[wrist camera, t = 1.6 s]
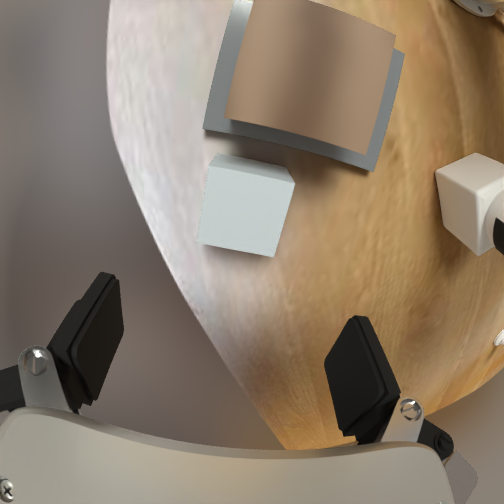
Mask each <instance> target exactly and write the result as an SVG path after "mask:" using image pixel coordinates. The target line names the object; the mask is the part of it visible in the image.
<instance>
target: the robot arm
mask: <svg viewBox="0 0 504 504" xmlns="http://www.w3.org/2000/svg"><path fill="white" fill-rule="evenodd" d="M453 1H455V2H456V3H457V4H458V5H459V6H461V7H462V8H464V9H465V10H466V11H468V12H470V13H472V14H474V15H477V16H480V17H487V16H492V15H494V14H495V12H496V10H497V9H500V10H501V11H502V12H504V0H453ZM123 332H124V325H123V317H122V308H121V298H120V286H119V280H118V279H116V277H115V275H113V274H109V273H104V272H100V273H99V275H98V276H97V277H96V279H95V280H94V282H93V283H92V284H91V286H90V287H89V289H88V290H87V291H86V293H85V294H84V296H83V297H82V299H81V300H78V301H76V302H75V303H74V305H73V307H72V308H71V309H70V311H69V312H68V314H67V315H66V317H65V319H64V320H63V322H62V323H61V325H60V326H59V328H58V330H57V331H56V333H55V334H54V336H53V338H52V339H51V341H50V343H49V345H48V346H47V348H44V347H42V346H32V347H29V348H27V349H26V350H24V351H23V352H22V354H21V355H20V357H19V360H18V365H16V366H12V367H9V368H6V369H3V370H0V504H465V503H466V501H467V499H468V498H469V496H470V495H471V493H472V491H473V490H474V488H475V486H476V484H477V479H478V477H477V473H476V472H475V470H474V469H473V468H472V467H471V466H470V464H469V463H468V462H467V461H466V460H465V459H464V458H463V457H462V455H461V454H460V453H459V452H458V451H457V450H455V451H453V448H454V444H453V440H452V438H451V437H450V435H449V434H447V433H446V432H445V431H443V430H441V429H440V428H438V427H437V426H435V425H434V424H432V423H430V422H429V421H427V420H426V419H424V408H423V406H422V404H421V403H420V402H419V400H417V399H416V398H415V397H412V396H407V395H406V396H402V397H401V398H400V395H399V394H400V393H401V391H400V388H399V386H398V384H397V381H396V379H395V376H394V374H393V372H392V369H391V367H390V365H389V362H388V360H387V358H386V355H385V353H384V351H383V349H382V346H381V344H380V342H379V340H378V338H377V335H376V333H375V331H374V329H373V327H372V325H371V323H370V321H369V319H368V317H366V316H357V315H355V316H353V317H352V318H350V319H349V320H348V321H347V323H346V325H345V326H344V328H343V330H342V332H341V333H340V335H339V337H338V339H337V340H336V342H335V344H334V345H333V347H332V349H331V350H330V352H329V354H328V355H327V357H326V359H325V362H324V367H325V371H326V375H327V379H328V383H329V388H330V392H331V396H332V400H333V405H334V409H335V414H336V418H337V423H338V427H339V429H340V430H341V431H342V433H343V437H345V436H354V435H355V437H356V441H355V442H354V444H353V446H347V447H338V448H326V449H311V450H252V449H236V448H225V447H215V446H207V445H200V444H192V443H186V442H181V441H175V440H170V439H164V438H159V437H155V436H151V435H147V434H142V433H138V432H135V431H131V430H127V429H123V428H119V427H116V426H112V425H109V424H106V423H103V422H100V421H97V420H94V419H90V418H87V417H84V416H82V415H81V413H80V411H79V409H80V408H81V405H82V403H84V404H87V405H89V406H91V404H92V402H93V400H95V401H96V400H97V399H98V396H99V394H100V391H101V388H102V386H103V383H104V380H105V378H106V375H107V373H108V370H109V368H110V365H111V362H112V360H113V357H114V355H115V353H116V350H117V348H118V345H119V343H120V341H121V338H122V336H123Z"/></svg>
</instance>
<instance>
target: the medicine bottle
mask: <svg viewBox="0 0 504 504" xmlns="http://www.w3.org/2000/svg"><path fill="white" fill-rule="evenodd" d="M435 176H436V181H437V187H438V193H439V199H440V205H441V212H442V220H443V226H444V227H445V228H446V229H447V230H449V231H450V232H451V233H452V234H453V235H454V236H456V237H457V238H458V239H459V240H460V241H461V242H462V243H464V244H465V245H466V246H467V247H468V248H469V249H470V250H471V251H472V252H474V253H475V254H476V255H477V256H480V255H482V254H483V253H485V252H487V251H488V250H490V249H491V248H493V247H495V248H496V249H497V250H499V251H500V252H501V253H502V254H503V255H504V164H502V163H500V162H498V161H496V160H493V159H491V158H488V157H486V156H484V155H481V154H478V153H473V154H471V155H468V156H466V157H464V158H462V159H459V160H457V161H455V162H453V163H451V164H448V165H446V166H444V167H442V168H439V169H437V170H436V171H435Z"/></svg>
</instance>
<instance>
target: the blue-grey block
mask: <svg viewBox="0 0 504 504" xmlns="http://www.w3.org/2000/svg"><path fill="white" fill-rule="evenodd" d="M294 186H295V182H294V181H293V179H292V177H291V175H290V174H289V172H288V170H287V168H286V167H283V166H279V165H275V164H270V163H266V162H261V161H257V160H252V159H247V158H242V157H237V156H232V155H227V154H221V153H217V155H216V156H215V157H214V159H213V160H212V162H211V163H210V165H209V168H208V173H207V179H206V185H205V191H204V197H203V203H202V209H201V216H200V222H199V229H198V236H197V243H201V244H206V245H211V246H217V247H222V248H227V249H232V250H238V251H243V252H248V253H254V254H259V255H264V256H270V257H274V254H275V251H276V248H277V245H278V241H279V238H280V234H281V231H282V228H283V224H284V221H285V218H286V214H287V211H288V207H289V204H290V200H291V197H292V193H293V190H294Z"/></svg>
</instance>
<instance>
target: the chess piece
mask: <svg viewBox="0 0 504 504" xmlns="http://www.w3.org/2000/svg"><path fill="white" fill-rule="evenodd" d="M494 344H495V346H498V345H500V344H501V345H502V344H503V345H504V329H503V330H502V331H501V332H500V333H499V334H498V335H497V336H496V338H495V340H494Z"/></svg>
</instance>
